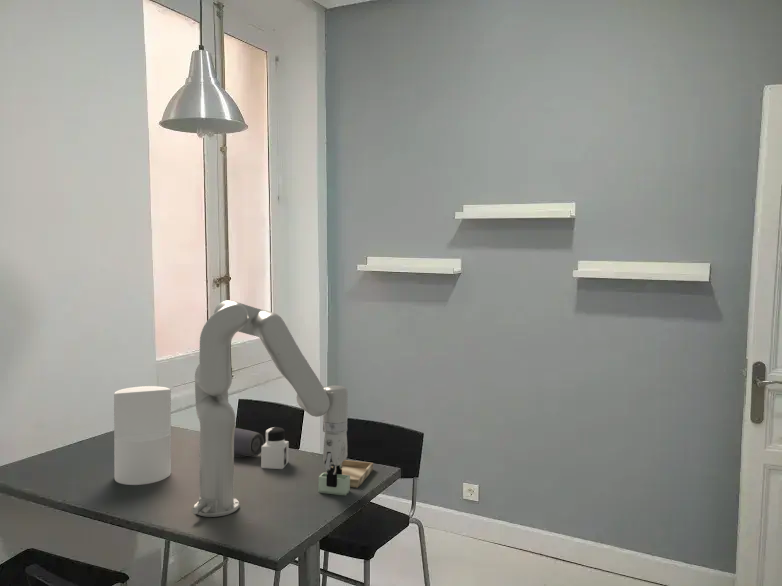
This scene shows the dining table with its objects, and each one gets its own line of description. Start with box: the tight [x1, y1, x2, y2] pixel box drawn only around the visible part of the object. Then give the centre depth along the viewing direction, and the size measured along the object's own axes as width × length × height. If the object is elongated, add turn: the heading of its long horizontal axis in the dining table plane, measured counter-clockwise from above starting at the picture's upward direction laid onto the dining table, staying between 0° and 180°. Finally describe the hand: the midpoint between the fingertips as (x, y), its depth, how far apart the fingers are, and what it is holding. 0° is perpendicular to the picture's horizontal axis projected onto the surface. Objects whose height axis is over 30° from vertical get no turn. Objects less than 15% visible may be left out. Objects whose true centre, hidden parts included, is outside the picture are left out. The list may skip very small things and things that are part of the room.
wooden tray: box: [324, 459, 374, 489], centre depth 203 cm, size 17×12×2 cm
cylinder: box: [113, 385, 172, 486], centre depth 200 cm, size 17×17×28 cm
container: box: [260, 426, 290, 470], centre depth 213 cm, size 8×8×13 cm
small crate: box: [317, 472, 351, 497], centre depth 190 cm, size 4×9×5 cm, turn 76°
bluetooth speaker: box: [234, 427, 265, 458], centre depth 223 cm, size 23×9×10 cm, turn 65°
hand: (334, 483), depth 190 cm, fingers closed on small crate, 4 cm apart
